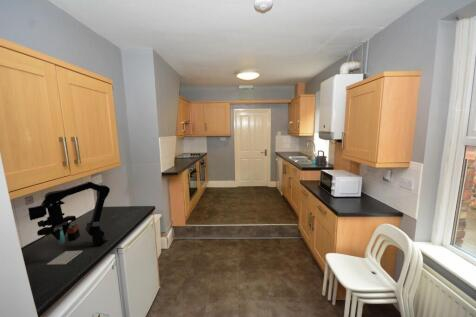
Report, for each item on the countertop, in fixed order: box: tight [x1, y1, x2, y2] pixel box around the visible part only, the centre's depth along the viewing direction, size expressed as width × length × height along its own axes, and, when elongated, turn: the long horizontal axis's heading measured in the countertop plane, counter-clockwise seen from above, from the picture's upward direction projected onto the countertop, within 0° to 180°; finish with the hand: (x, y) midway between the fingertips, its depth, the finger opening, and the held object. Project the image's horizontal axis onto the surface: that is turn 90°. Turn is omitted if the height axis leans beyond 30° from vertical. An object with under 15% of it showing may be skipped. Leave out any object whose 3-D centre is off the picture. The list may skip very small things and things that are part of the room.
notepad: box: [46, 250, 83, 266], centre depth 119 cm, size 12×11×1 cm
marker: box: [57, 226, 66, 245], centre depth 117 cm, size 3×3×10 cm
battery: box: [66, 223, 81, 242], centre depth 141 cm, size 4×7×10 cm, turn 16°
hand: (61, 238), depth 117 cm, fingers closed on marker, 3 cm apart
